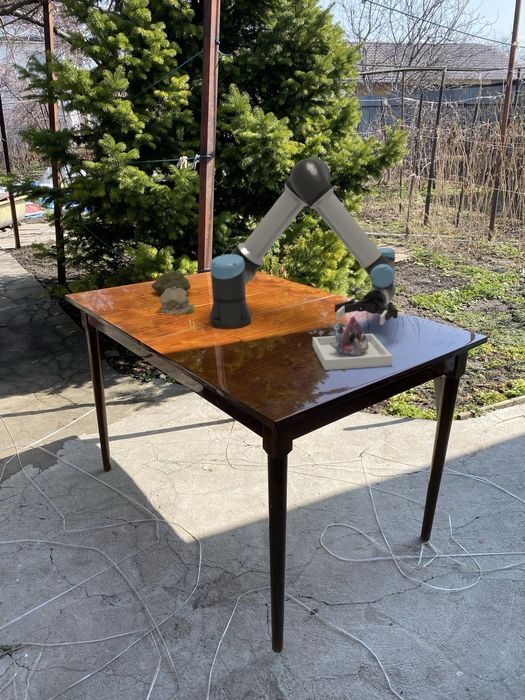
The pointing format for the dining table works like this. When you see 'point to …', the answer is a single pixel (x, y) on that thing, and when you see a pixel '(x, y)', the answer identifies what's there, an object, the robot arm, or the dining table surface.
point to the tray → (334, 360)
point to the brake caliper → (350, 339)
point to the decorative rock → (171, 282)
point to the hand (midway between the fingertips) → (358, 318)
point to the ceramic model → (175, 302)
